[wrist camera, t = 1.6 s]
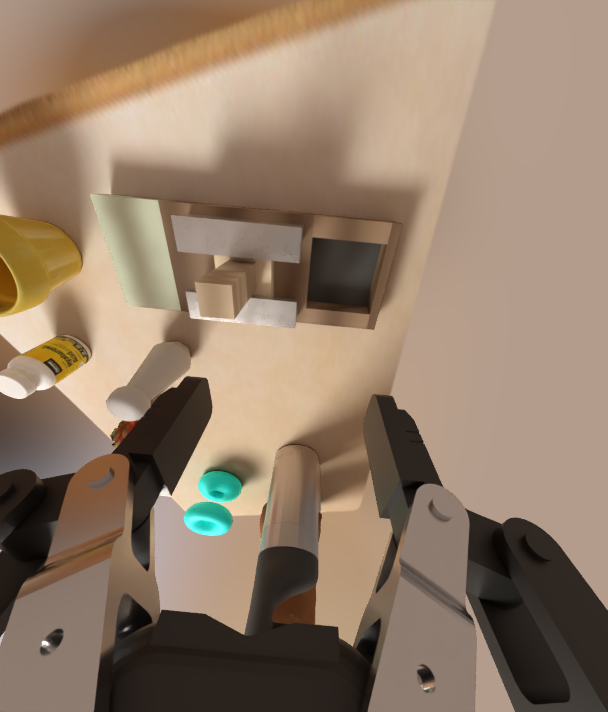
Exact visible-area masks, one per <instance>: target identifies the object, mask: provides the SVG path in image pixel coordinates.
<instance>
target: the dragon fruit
mask: <svg viewBox="0 0 608 712" xmlns="http://www.w3.org/2000/svg"><path fill="white" fill-rule="evenodd" d="M143 417H144V416H143ZM139 420H140V419H139ZM139 420H136V421H122V422H120V423H119V426H118V428H115V429H114V431H113V432H112V434H111V435H110V437H111V438H112V441H115V442H114V443H113V444H112V445H113V446H114V447H116V448H117V447H118V445H119V444H120V443H121V442H122V441H123V439H124V438H125V437H126V436H127V434H128V433H129V432H130V431H131V430H132V428H133V427H134V426H135V425H136V424H137V422H138V421H139Z"/></svg>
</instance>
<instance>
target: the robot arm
mask: <svg viewBox="0 0 608 712" xmlns="http://www.w3.org/2000/svg"><path fill="white" fill-rule="evenodd" d="M211 414H212V400H211V395H210V389H209V384H208V380H207V379H206V378H201V377H191V376H187V377H185V378H184V379H183V381H182V382H181V383H180V385H179V386H178V387H177V388H170V389H169V390H167V391H166V392H164V393H163V394H161V395H160V396H159V397H158V398H157V399H156V400H155V402H154V403H153V404H152V405H151V408H149V409H148V410H147V411H146V413H145V414H144V417H141V419H140V420H139V421H138V422H137V424H136V425H135V426H134V427H133V428H132V430H131V431H130V432H129V433H128V434H127V436H126V437H125V438H124V439H123V441H122V442H121V443H120V444H119V445H118V447H117V448H116V449H115V450H114V451H113V452H112V453H111V454H108V455H104V456H101V457H98V458H96V459H94V460H92V461H90V462H88V463H87V464H85V465H84V466H83V467H82V468H80V469H79V470H78V471H77V472H76V473H72V474H66V475H61V476H56V477H51V478H46V479H40V478H39V477H38V476H37V475H36V474H35V473H34V472H33V471H31V470H27V469H20V470H14V471H10V472H7V473H4V474H1V475H0V549H1V550H2V551H1V552H0V637H1V635H2V634H3V633H4V631H5V633H4V636H3V639H2V642H1V646H0V712H475V690H476V688H475V687H476V647H477V642H476V641H477V639H476V630H475V624H474V621H473V618H472V617H471V616H470V615H469V614H468V612H467V611H466V606H465V594H467V597H468V599H469V602H470V604H471V606H472V608H473V611H474V613H475V616H476V618H477V621H478V623H479V625H480V628H481V630H482V633H483V635H484V638H485V640H486V643H487V645H488V647H489V650H490V652H491V655H492V657H493V659H494V662H495V664H496V667H497V669H498V672H499V674H500V676H501V679H502V681H503V683H504V686H505V688H506V691H507V693H508V696H509V698H510V700H511V703H512V705H513V708H514V710H515V712H608V610H607V609H606V608H605V607H604V605H603V604H602V602H601V601H600V600H599V598H598V597H597V596H596V594H595V593H594V592H593V590H592V589H591V587H590V586H589V585H588V584H587V582H586V581H585V579H584V578H583V577H582V575H581V574H580V573H579V571H578V570H577V569H576V567H575V566H574V565H573V563H572V562H571V561H570V559H569V558H568V557H567V555H566V554H565V552H564V551H563V550H562V548H561V547H560V546H559V545H558V544H557V542H556V541H555V540H554V539H553V538H552V537H551V536H550V535H549V534H547V533H546V532H545V531H544V530H542V529H541V528H540V527H538V526H537V525H535V524H533V523H531V522H529V521H527V520H524V519H521V518H510V519H508V520H506V521H505V522H504V523H503V524H500V523H498V522H495V521H493V520H490V519H488V518H486V517H483V516H481V515H478V514H476V513H474V512H471V511H469V510H467V509H466V508H464V506H463V504H462V503H461V502H460V501H459V499H458V498H457V497H456V496H455V495H454V494H453V493H451V492H450V491H449V490H447V489H445V488H444V487H443V485H442V483H441V481H440V479H439V477H438V474H437V472H436V470H435V467H434V465H433V463H432V460H431V458H430V456H429V453H428V451H427V449H426V447H425V445H424V444H423V440H422V438H421V435H420V434H419V430H418V428H417V426H416V424H415V421H414V420H413V419H412V418H411V416H410V415H409V414H408V413H407V412H406V411H405V410H400V409H397V406H396V403H395V401H394V398H393V397H392V396H387V395H376V394H373V395H372V397H371V400H370V403H369V406H368V409H367V413H366V416H365V419H364V426H363V431H364V438H365V443H366V449H367V454H368V459H369V464H370V470H371V474H372V480H373V485H374V490H375V496H376V501H377V506H378V511H379V517H380V518H388V519H390V520H391V525H392V529H393V530H392V531H391V533H390V536H389V540H388V543H387V546H386V550H385V553H384V556H383V560H382V563H381V566H380V570H379V572H378V576H377V579H376V583H375V586H374V589H373V592H372V595H371V598H370V600H369V602H368V605H367V607H366V609H365V612H364V614H363V617H362V620H361V623H360V626H359V629H358V632H357V636H356V639H355V642H354V645H353V647H352V646H351V645H350V644H348V643H347V642H345V641H344V640H342V639H340V638H339V635H338V634H339V633H338V627H333V626H322V625H313V624H303V623H292V624H284V623H275V622H273V621H272V616H273V611H274V610H275V608H276V607H277V606H278V605H279V604H280V603H282V602H283V601H285V600H286V599H288V598H290V597H292V596H294V595H297V594H300V593H304V592H306V591H308V590H310V589H312V588H313V587H314V586H315V585H316V583H317V580H318V513H319V512H320V510H321V476H320V464H319V458H318V455H317V454H316V452H315V451H314V450H312V449H311V448H308V447H306V446H302V445H288V446H285V447H283V448H281V449H279V450H278V451H277V453H276V457H275V462H274V468H273V474H272V479H271V485H270V491H269V497H268V503H267V509H266V514H265V520H264V526H263V532H262V538H261V544H260V550H259V556H258V562H257V568H256V575H255V581H254V588H253V593H252V599H251V605H250V610H249V615H248V620H247V624H246V629H245V634H244V635H243V634H241V633H239V632H237V631H235V630H233V629H232V628H230V627H228V626H226V625H224V624H223V623H220V622H218V621H217V620H215V619H213V618H212V617H210V616H208V615H206V614H201V613H200V614H199V613H189V612H180V611H170V610H162V611H161V613H160V601H159V591H158V586H157V582H156V578H155V565H154V564H155V563H154V562H155V560H154V558H155V557H154V507H153V505H154V504H155V502H156V500H157V498H158V496H159V495H160V496H170V497H171V495H172V493H173V491H174V489H175V487H176V485H177V483H178V481H179V479H180V477H181V475H182V474H183V472H184V470H185V468H186V466H187V464H188V462H189V460H190V458H191V456H192V454H193V452H194V450H195V448H196V446H197V444H198V442H199V440H200V438H201V436H202V434H203V432H204V430H205V428H206V426H207V424H208V422H209V420H210V417H211ZM422 684H423V689H422V688H421V686H420V685H422Z"/></svg>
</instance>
